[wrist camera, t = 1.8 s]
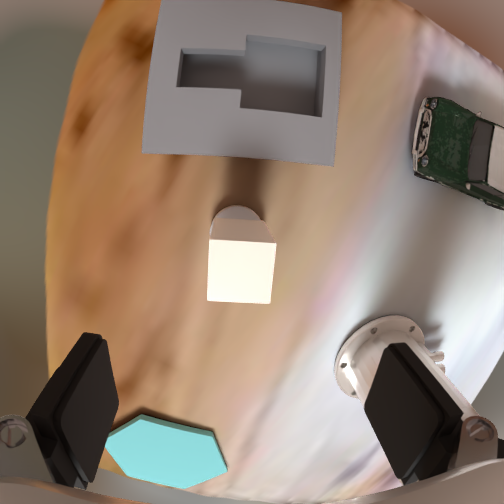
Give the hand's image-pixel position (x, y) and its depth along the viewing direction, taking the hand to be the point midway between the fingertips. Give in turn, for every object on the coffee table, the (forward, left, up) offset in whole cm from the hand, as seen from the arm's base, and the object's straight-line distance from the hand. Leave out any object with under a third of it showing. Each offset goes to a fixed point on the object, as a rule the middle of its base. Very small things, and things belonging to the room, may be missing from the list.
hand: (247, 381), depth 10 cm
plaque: (+9, +35, -22) cm, 43 cm away
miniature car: (-26, -11, -22) cm, 36 cm away
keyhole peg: (0, 0, -22) cm, 22 cm away
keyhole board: (0, -14, -22) cm, 26 cm away
